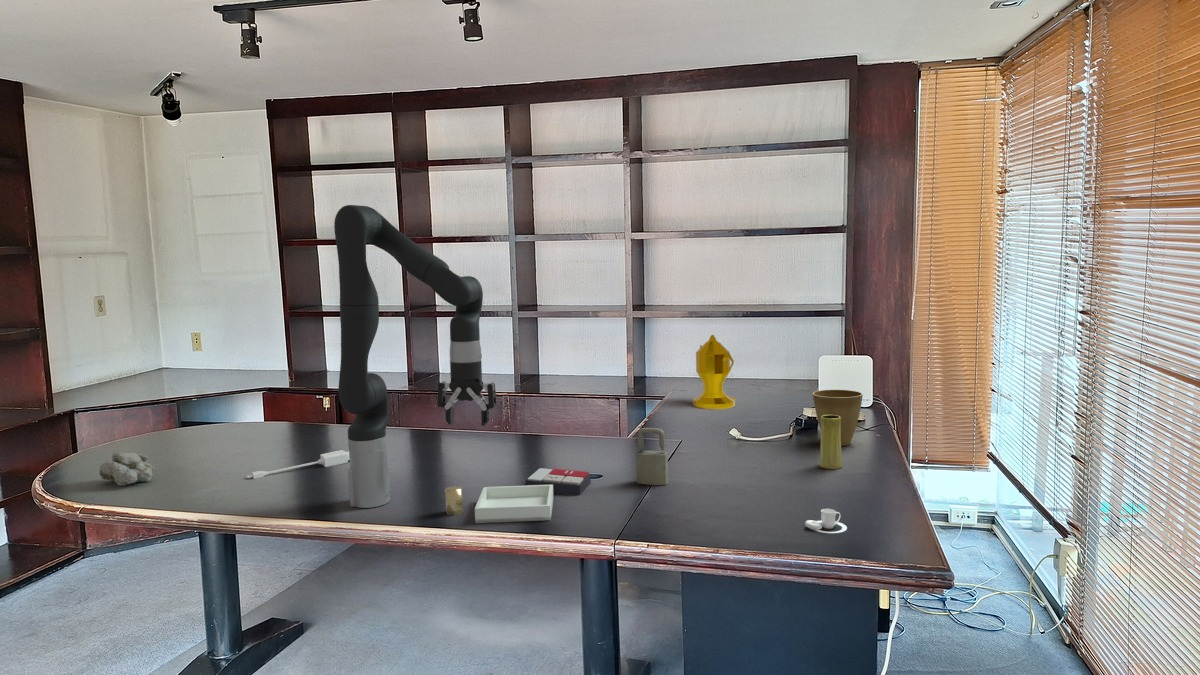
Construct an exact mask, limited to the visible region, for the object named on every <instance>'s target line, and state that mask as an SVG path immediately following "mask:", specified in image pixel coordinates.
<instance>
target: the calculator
mask: <svg viewBox="0 0 1200 675" xmlns="http://www.w3.org/2000/svg"><path fill="white" fill-rule="evenodd" d="M591 478H592V474H591V473H589V471H582V470H570V469H561V468H560V469H559V468H552V469H551V468H545V467H544V468H542V467H540V468H538V469H537V470H536V471H534V473H532V474H531V475H530V476H529V477H528V478H526V479H525V486H528V485H553V495H565V496H581V495H582V494H583V493H584V492H585V490H586V489H587V488H588V487H589V486H590V485H591V481H592V479H591Z"/></svg>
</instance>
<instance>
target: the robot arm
mask: <svg viewBox="0 0 1200 675" xmlns="http://www.w3.org/2000/svg"><path fill="white" fill-rule="evenodd" d="M333 228H334V236H335V244H336V250H337V252H336V253H337V259H338V260H337V261H338V278H339V280H338V281H339V318H340V319H339V320H340V321H339V322H340V366H339V368H340V369H339V380H338V400H339V402H340V403H339V404H340V405H341V407H342V408H343V409H344V410H345V412H347V413H349V414H351V415H355V417H354V420H353V422H352V423H351V424H350V425H349V427H348V428H347V441H348V451H349V457H350V460H349V468H348V469H347V477H348V478H347V479H348V493H349V494H348V495H349V505H350V506H349V507H354V508H355V507H356V508H359V509H367V508H368V509H369V508H376V507H377V508H378V507H381V506H383V505H386V504H388V503H389V502H390V501H391V495H390V492H391V491H390V480H389V478H390V477H389V465H388V464H389V462H388V449H387V435H386V433H387V432H386V429H387V426H388V423H389V397H388V396H389V395H388V388H387V385H386V383H385V381H384V379H383V378H382V376H380V375H378V374H377V373H374V372H369V370H368V367H369V366H368V363H369V354H370V351H371V348H372V345H373V342H374V340H375V336H376V334H377V331H378V328H379V322H380V321H379V320H380V313H379V312H380V303H379V295H378V291H377V288H376V285H375V283H374V281H373V279H372V276H371V273H370V272H369V267H368V262H367V244H369V245H372V246H375V247H376V248H379V249H381V250H383V251H384V252H386V253H388V254H389V255H390V256H391V257H393V259H394V260H396V262H397V263H398V264H399V265H400V266H401V267H402V268H403V269H404V270H405V271H406V272H407V273H408V274H410V275H411V276H413V277H414V278H416V279H417V280H419V281H420V282H422V283H423V284H425V285H426V286H429V287H430V288H431V289H432V290H433V291H434V293H436V295H437V296H439V297H440V298H441V299H442V300H443V301H445V302H447V304H449V305H452V306H454V307H455V314H454V316H453V317H451V319H450V321H449V322H450V323H449V339H450V342H449V366H450V367H449V368H450V371H449V372H450V374H449V376H450V382H446V381H444V380H443V381H440V382H438V384H437V407H439V408H443V409H444V410H445V421H446V423H447V425H450V426H451V425H453V424H454V423H455V418H454V417H455V416H454V415H455V414H454V413H455V412H454V405H455V404H456V402H458V401H459V402H460V401H461V402H463V401H468V402H472V401H474V402H475V403H476V404H477V405H478V406H479V407H480V409H481V411H480V413H481V415H480V416H481V426H482V427H484V426H487V425H488V423H489V422H490V410H491V409H493V408H495V407H496V406H497V405H498V404H497V390H496V384H495V382H489V383H484V382H483V378H482V377H483V371H482V370H483V369H482V358H483V357H482V347H481V341H480V340H481V338H480V334H481V333H480V320H481V319H480V318H481V314H482V306H483V300H484V299H483V297H484V292H483V287H482V285H481V283H480V281H479V280H478V279H477V278H476V277H474V276H471V275H467V276H460V275H458V274H457V273H455V272H454V271H452V270H451V269H450V265H448V263H447V262H446V261H444V260H442V259H441V258H439V257H438V256H436V255H435V254H433V253H432V252H430V251H429V250H427V249H426V248H424V247H422V246H420V245H419V244H418V243H416V242H415V241H413V240H412V239H410V238H409V237H408V236H406V235H405V234H404V233H402V232H401V231H400V230H399V229H398V228H396V227H395V226H394V225H393V224H392V223H391V222H389V221H388V219H386V218H385V217H384V216H383V215H382V214H380V212H378V211H377V209H374V208H373V207H370V206H368V205H356V204H347V205H343V206H342V207H341V208H340V209H339V210H338V211H337V213H336V215H335V218H334V227H333ZM448 390H450V391H451V392H452V395H451V396H450V398H449V399H448V401H447V391H448ZM483 390H485V393H487V397H488V398H487V399H488V401H487V400H486V398H485V396H484V395H483V393H482V392H483Z"/></svg>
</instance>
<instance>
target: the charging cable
mask: <svg viewBox="0 0 1200 675" xmlns="http://www.w3.org/2000/svg"><path fill="white" fill-rule="evenodd" d="M319 456H320V458H319V459H318V460H317V461H312V462H308V463H303V464H299V465H298V464H297V465H294V466H293V465H292V466H290V467H289V466H288V467H283V468H279V469H274V470H270V471H268V470H258V471H253V472H251V474H249V475H246V478H247V479H251V478H252V479H260V478H265V476H269V474H274V473H278V472H279V473H280V472H283V471H287V470H292V469H293V470H294V469H297V468H301V467H307V466H311V465H316V464H317V465H318V464H319V465H322V466H323V467H324V468H329V467H334V466H339V465H340V464H341V465H345V463H346V464H348V463H349V461H350V457H349V450H348V451H345V450H344V449H340V450H335V451H331V452H326V453H321V454H320V455H319Z"/></svg>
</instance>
